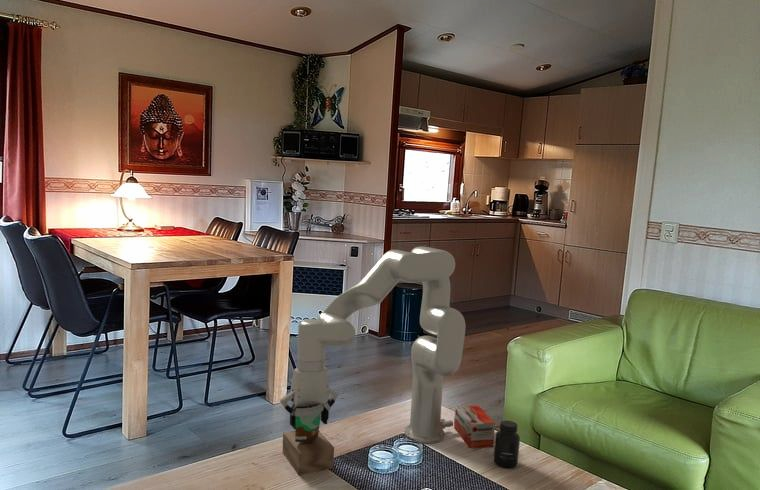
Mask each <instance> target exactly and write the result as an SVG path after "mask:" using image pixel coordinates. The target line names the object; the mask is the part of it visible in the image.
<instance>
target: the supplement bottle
mask: <svg viewBox="0 0 760 490" xmlns="http://www.w3.org/2000/svg"><path fill="white" fill-rule="evenodd" d="M499 425H500V426H499V430H497V431H496V432H495V437H494V449H493V450H494V451H493V462H494V464H495V465H497V467H500V468H502V469H508V470H509V469H515V468H517V466H518V462H519V453H520V442H521V437H520V434H519V433H518V424H517V423H516V422H515V421H511V420H502V421H500V424H499Z"/></svg>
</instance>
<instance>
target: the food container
mask: <svg viewBox="0 0 760 490" xmlns="http://www.w3.org/2000/svg"><path fill="white" fill-rule="evenodd" d="M323 409H324V405H323V404H319V405H312V406H305V407H300V408H296V411H295V416H296V427H295V429H294V431H295V442H308V441H312V440H314V439H316V438H317V437H318V433H319V431H320V423H321V412H322V411H323Z"/></svg>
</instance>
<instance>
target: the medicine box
mask: <svg viewBox="0 0 760 490" xmlns="http://www.w3.org/2000/svg"><path fill="white" fill-rule="evenodd" d="M495 426H496V422H495V421H494V420H493V419H492V418H491V417H490V416H489V414H487V412H485V410H484V409H482V407H481V406H480V405H478V404H477V405H475V404H474V405H473V404H472V405H471V404H470V405H455V408H454V421H453V429H454V430H455V431H456V432H457V434H458V436H460V438H461V439H462V441H463V442H464V444H465V445H466V447H468V448H469V449H479V448H481V449H482V448H494V444H495V428H496V427H495Z"/></svg>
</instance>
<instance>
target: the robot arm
mask: <svg viewBox="0 0 760 490" xmlns="http://www.w3.org/2000/svg"><path fill="white" fill-rule="evenodd" d="M455 268H456V260H455V257H454V256H453V254H451V252H448V251H447V250H444V249H438V248H434V247H429V246H422V245H421V246H415V247H414V248H413V249H411V251H406V250H405V251H404V250H400V249H390V250H388V251H386V252H385V253H384V254H383V255H382V256H381V257H380V258H379V260H378V261H377V262H376V263H375V264H374V265H373V266H372V267H371V269H370V270H369V271H368V272H367V273H366V274H365V275H364V277H363V278H362V279H360V281H359V282H358V283H357V284H356V285H353V286H352V287H350V288H349V289H347V290H345V291H344V292H342V293H340V294H339V295H337V296H336V297H335V298H334V299H333V300H332V301H330V303H329V304H328V305H327V306H326V308H324V310H323V311H322V312H321V313H320V315H319V316H318V317H317V318H316V319H315V318H308V319H307V318H306V319H304V320H301V321H300V322H299V323H298V328H297V329H298V330H297V361H296V362H297V365H296V366H297V367H296V368H294V369H293V372H292V376H291V377H292V378H291V385H290V392H289V393H288V394H286V395H285V396H283V397H282V398H281V399H280V401H279V402H280V404H281V405H282V406H283V408H284V410H285V411H286V412H288V413H289V425H290V426H291V427H292V428H293V430H295V427H296V416H295V411H296V408H300V407H305V406H312V405H319V404H323V405H324V409H323V411H322V412H321V417H320V422H322V423H323V425H328V421H329V419H330V418H329V417H330V416H329V414H330V410H331V409H332V407H333V405H334V404H335V403H336V400H337V399H338V397H339V395H340V394H339V392H337V391H335V390H334V389H332V388H330V387H329V386H330V385H329V383H330V382H329V376H328V369H327V367H326V365H327V364H329V363H330V358H326V347H333V348H335V347H336V348H343V347H346V346H348V345H350V344H351V343H353V341H354V340H355V338H356V329H355V327H354V325H353V324H352V323H351V322H349V321H348V320H347V319H348V318H349V317H350V316H351V315H352V314H354V313H355V312H357V311H359V310H362V309H364V308H369V307H373V306H376V305H378V304H381V303H382V302H383V300H384V299H385V298H386V297H387V295H389V293H390V292H391V291H392V290H393V289H394V288H395V286H396V285H397V284H398V283H399V282H400V281H401V282H404V283H413V284H414V283H422V299H421V306H420V314H419V325H420V327H421V329H423V330H424V331H425V332H427V333H429V334H430V335H431V334H432V335H433V336H430V335H422V336H420V337H417V338H416V339H415V340H414V341H413V343H412V345H411V349H410V357H411V358H410V359H411V366H412V382H411V383H412V385H411V400H410V401H411V402H410V403H411V405H410V421H409V423H410V424H409V425H408V426H406V427H405V429H404V435H405V436H406V437H407V438H408V437H409V438H411V439H414V440H417V441H420V442H419V443H421V442H422V444H434V443H438V442H441V441H442V440H444V439H445V431H444V429H446V428H450V427H454V421H453V420H446V419H445V418H442V417H441V416H442V400H443V386H444V385H443V383H444V379H443V377H451V376H453V375H454V374H455V373H456V372H458V370H459V368H460V365H461V362H462V358H463V350H464V346H465V345H464V344H465V343H464V342H465V336H466V335H465V334H466V321H465V317H464V316H463V314H462V313H461V311H459V310H457V309H456V308H454V307H450V301H451V281H450V277H451V276H452V275H453V273H454V272H455ZM434 336H436V337H434ZM330 395H331V396H330ZM289 401H291V402H292V404H290V405H289V404H288V402H289ZM409 438H408V439H409ZM411 439H410V440H411Z"/></svg>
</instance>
